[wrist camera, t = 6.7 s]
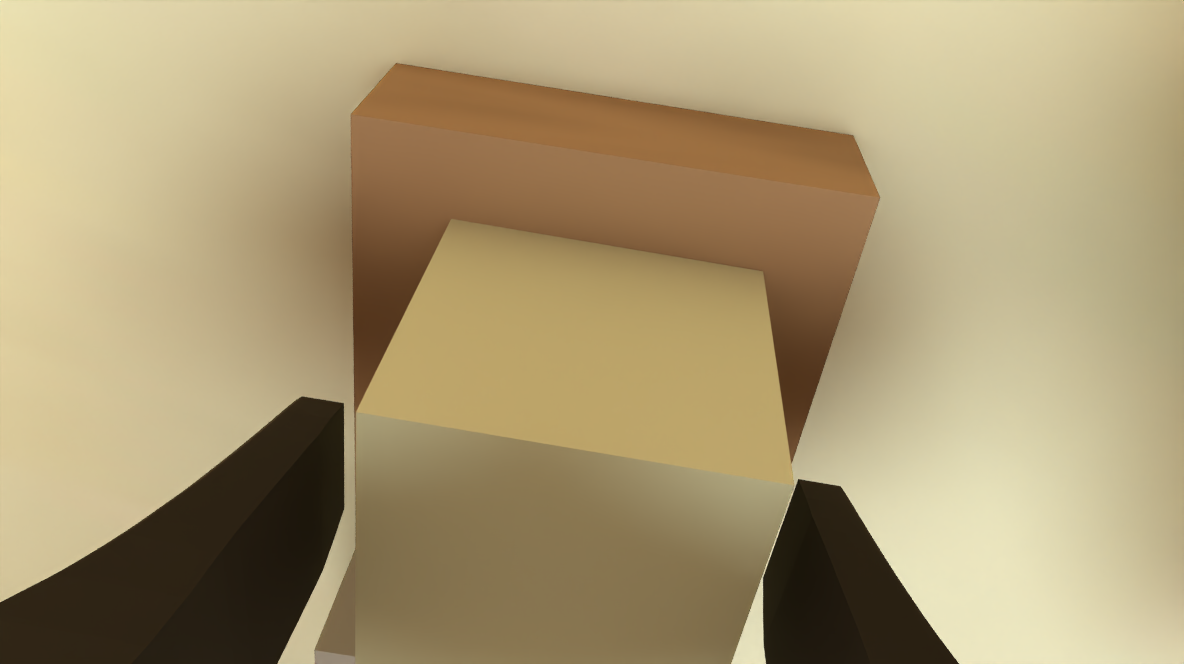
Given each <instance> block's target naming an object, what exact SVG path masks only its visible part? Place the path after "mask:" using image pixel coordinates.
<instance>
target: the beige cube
mask: <svg viewBox="0 0 1184 664" xmlns="http://www.w3.org/2000/svg"><path fill="white" fill-rule="evenodd" d="M793 488H794V480H793V473H792V466H791V460H790V453H789V446H788V439H787V432H786V425H785V418H784V412H783V405H782V398H781V391H780V384H779V377H778V370H777V364H776V357H775V350H774V343H773V336H772V329H771V322H770V316H769V309H768V302H767V295H766V288H765V281H764V274H763V271H758V270H752V269H746V268H740V267H734V266H728V265H722V264H716V263H710V262H705V261H699V260H693V259H687V258H681V257H675V256H669V255H663V254H657V253H651V252H645V251H639V250H633V249H627V248H622V247H616V246H610V245H604V244H598V243H592V242H586V241H580V240H574V239H568V238H562V237H556V236H550V235H544V234H538V233H533V232H527V231H521V230H515V229H509V228H503V227H497V226H491V225H485V224H479V223H473V222H467V221H461V220H455V219H451V220H450V222H449V224H448V226H447V228H446V230H445V232H444V234H443V236H442V238H441V241H440V243H439V245H438V247H437V249H436V251H435V253H434V255H433V257H432V259H431V261H430V263H429V265H428V267H427V269H426V271H425V273H424V275H423V277H422V279H421V281H420V283H419V285H418V287H417V289H416V291H415V293H414V295H413V297H412V299H411V301H410V303H409V305H408V307H407V309H406V312H405V314H404V316H403V318H402V320H401V322H400V324H399V326H398V328H397V330H396V332H395V334H394V336H393V338H392V340H391V342H390V344H389V346H388V348H387V350H386V352H385V354H384V356H383V358H382V360H381V362H380V364H379V366H378V368H377V370H376V372H375V374H374V376H373V378H372V380H371V383H370V385H369V387H368V389H367V391H366V393H365V395H364V397H363V399H362V401H361V403H360V405H359V407H358V409H357V411H356V565H355V664H731V662H732V659H733V656H734V654H735V651H736V648H737V645H738V642H739V639H740V637H741V634H742V631H743V628H744V625H745V623H746V620H747V617H748V614H749V611H750V609H751V606H752V603H753V600H754V597H755V594H756V592H757V589H758V586H759V583H760V580H761V578H762V575H763V572H764V569H765V566H766V564H767V561H768V558H769V555H770V552H771V549H772V547H773V544H774V541H775V538H776V535H777V533H778V530H779V527H780V524H781V521H782V519H783V516H784V513H785V510H786V507H787V504H788V502H789V499H790V496H791V493H792V490H793Z"/></svg>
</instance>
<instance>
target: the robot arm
mask: <svg viewBox="0 0 1184 664" xmlns="http://www.w3.org/2000/svg"><path fill="white" fill-rule="evenodd" d="M343 510H344V403H338V402H332V401H326V400H320V399H314V398H308V397H300V398H299V399H297V400H296V401H294V402H293V403H292V404H291V405H289V406H288V407H287V408H286V409H285V410H283V411H282V412H281V413H280V414H279V415H277V416H276V417H275V418H274V419H273V420H272V421H270V422H269V423H268V424H267V425H266V426H264V427H263V428H262V429H261V430H260V431H259V432H257V433H256V434H255V435H254V436H253V437H251V438H250V439H249V440H248V441H246V442H245V443H244V444H243V445H242V446H240V447H239V448H238V449H237V450H236V451H234V452H233V453H232V454H231V455H229V456H228V457H227V458H226V459H224V460H223V461H222V462H220V463H219V464H218V465H217V466H215V467H214V468H213V469H211V470H210V471H209V472H208V473H206V474H205V475H204V476H202V477H201V478H200V479H199V480H197V481H196V482H195V483H193V484H192V485H191V486H189V487H188V488H187V489H185V490H184V491H183V492H181V493H180V494H179V495H177V496H176V497H174V498H173V499H172V500H170V501H169V502H167V503H166V504H164V505H163V506H162V507H160V508H159V509H157V510H156V511H155V512H153V513H152V514H150V515H149V516H147V517H146V518H145V519H143V520H142V521H140V522H139V523H138V524H136V525H135V526H133V527H132V528H130V529H128V530H127V531H125V532H124V533H122V534H121V535H119V536H118V537H116V538H115V539H113V540H112V541H110V542H108V543H107V544H105V545H104V546H102V547H100V548H99V549H97V550H95V551H94V552H92V553H90V554H89V555H87V556H85V557H84V558H82V559H80V560H79V561H77V562H75V563H74V564H72V565H70V566H69V567H67V568H65V569H63V570H62V571H60V572H58V573H56V574H54V575H52V576H51V577H49V578H47V579H45V580H43V581H41V582H39V583H37V584H35V585H33V586H31V587H29V588H27V589H25V590H24V591H22V592H20V593H18V594H16V595H14V596H12V597H10V598H8V599H6V600H4V601H2V602H0V664H277V663H278V661H279V659H280V657H281V655H282V653H283V651H284V649H285V647H286V645H287V643H288V641H289V639H290V637H291V635H292V633H293V631H294V629H295V627H296V625H297V623H298V621H299V619H300V616H301V614H302V612H303V610H304V608H305V606H306V604H307V602H308V600H309V598H310V596H311V594H312V592H313V590H314V588H315V586H316V584H317V581H318V579H319V577H320V575H321V573H322V571H323V568H324V565H325V563H326V560H327V557H328V554H329V551H330V549H331V546H332V543H333V540H334V537H335V534H336V531H337V528H338V525H339V522H340V519H341V516H342V513H343ZM763 630H764V650H765V658H766V664H959V663H958V662H957V661H956V659H955V658H954V657H953V655H952V654H951V653H950V651H949V650H948V649H947V647H946V646H945V645H944V643H943V642H942V641H941V639H940V638H939V637H938V635H937V634H936V633H935V631H934V630H933V628H932V627H931V626H930V624H929V623H928V621H927V620H926V619H925V617H924V616H923V614H922V613H921V611H920V610H919V608H918V607H917V606H916V604H915V603H914V601H913V600H912V598H911V597H910V595H909V594H908V592H907V591H906V589H905V588H904V586H903V585H902V583H901V582H900V580H899V579H898V577H897V576H896V574H895V573H894V571H893V570H892V568H891V566H890V565H889V563H888V562H887V560H886V559H885V557H884V555H883V554H882V552H881V551H880V549H879V547H878V546H877V544H876V543H875V541H874V539H873V538H872V536H871V535H870V533H869V531H868V530H867V528H866V526H865V525H864V523H863V521H862V520H861V518H860V517H859V515H858V513H857V512H856V510H855V508H854V507H853V505H852V503H851V502H850V500H849V499H848V497H847V495H846V494H845V492H844V491H843V489H842V488H841V486H835V485H829V484H823V483H817V482H811V481H805V480H799V479H798V482H797V485H796V488H795V490H794V493H793V496H792V499H791V502H790V504H789V507H788V510H787V513H786V516H785V518H784V521H783V524H782V527H781V529H780V532H779V535H778V538H777V541H776V543H775V546H774V549H773V552H772V555H771V557H770V560H769V563H768V566H767V569H766V571H765V574H764V577H763Z"/></svg>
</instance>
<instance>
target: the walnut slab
mask: <svg viewBox="0 0 1184 664" xmlns="http://www.w3.org/2000/svg"><path fill="white" fill-rule="evenodd" d="M351 170H352V251H353V332H354V413H355V494H356V411H357V409H358V407H359V405H360V403H361V401H362V399H363V397H364V395H365V393H366V391H367V389H368V387H369V385H370V383H371V380H372V378H373V376H374V374H375V372H376V370H377V368H378V366H379V364H380V362H381V360H382V358H383V356H384V354H385V352H386V350H387V348H388V346H389V344H390V342H391V340H392V338H393V336H394V334H395V332H396V330H397V328H398V326H399V324H400V322H401V320H402V318H403V316H404V314H405V312H406V309H407V307H408V305H409V303H410V301H411V299H412V297H413V295H414V293H415V291H416V289H417V287H418V285H419V283H420V281H421V279H422V277H423V275H424V273H425V271H426V269H427V267H428V265H429V263H430V261H431V259H432V257H433V255H434V253H435V251H436V249H437V247H438V245H439V243H440V241H441V238H442V236H443V234H444V232H445V230H446V228H447V226H448V224H449V222H450V220H451V219H455V220H461V221H467V222H473V223H479V224H485V225H491V226H497V227H503V228H509V229H515V230H521V231H527V232H533V233H538V234H544V235H550V236H556V237H562V238H568V239H574V240H580V241H586V242H592V243H598V244H604V245H610V246H616V247H622V248H627V249H633V250H639V251H645V252H651V253H657V254H663V255H669V256H675V257H681V258H687V259H693V260H699V261H705V262H710V263H716V264H722V265H728V266H734V267H740V268H746V269H752V270H758V271H763V274H764V281H765V288H766V295H767V302H768V309H769V316H770V322H771V329H772V336H773V343H774V350H775V357H776V364H777V370H778V377H779V384H780V391H781V398H782V405H783V412H784V418H785V425H786V432H787V439H788V446H789V453H790V460H791V464H792V461H793V458H794V455H795V452H796V449H797V446H798V443H799V440H800V437H801V434H802V431H803V428H804V425H805V422H806V419H807V416H808V413H809V410H810V407H811V404H812V401H813V398H814V395H815V392H816V389H817V386H818V383H819V380H820V377H821V374H822V371H823V368H824V365H825V362H826V359H827V356H828V353H829V350H830V347H831V344H832V341H833V338H834V335H835V332H836V329H837V326H838V323H839V320H840V317H841V314H842V311H843V308H844V305H845V302H846V299H847V296H848V293H849V290H850V287H851V284H852V281H853V278H854V275H855V272H856V269H857V266H858V263H859V260H860V257H861V254H862V251H863V248H864V245H865V242H866V239H867V236H868V233H869V230H870V227H871V224H872V220H873V217H874V214H875V211H876V208H877V205H878V202H879V199H880V196H879V194H878V192H877V189H876V187H875V185H874V182H873V180H872V178H871V175H870V173H869V171H868V169H867V166H866V164H865V162H864V159H863V157H862V155H861V152H860V150H859V148H858V145H857V143H856V141H855V138H854V136H853V135H846V134H840V133H834V132H827V131H821V130H815V129H808V128H802V127H796V126H789V125H783V124H777V123H771V122H764V121H758V120H752V119H745V118H739V117H733V116H726V115H720V114H714V113H707V112H701V111H695V110H688V109H682V108H676V107H669V106H663V105H657V104H650V103H644V102H638V101H631V100H625V99H619V98H612V97H606V96H600V95H593V94H587V93H581V92H574V91H568V90H562V89H555V88H549V87H543V86H537V85H530V84H524V83H518V82H511V81H505V80H499V79H492V78H486V77H480V76H473V75H467V74H461V73H454V72H448V71H442V70H435V69H429V68H423V67H416V66H410V65H404V64H397V63H396V64H395V65H394V66H393V67H392V68H391V70H390V71H389V72H388V73H387V74H386V75H385V76H384V77H383V79H382V80H381V81H380V82H379V83H378V84H377V85H376V86H375V88H374V89H373V90H372V91H371V92H370V93H369V94H368V96H367V97H366V98H365V99H364V100H363V101H362V102H361V103H360V105H359V106H358V107H357V108H356V109H355V110H354V111H353V112H352V114H351Z"/></svg>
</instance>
